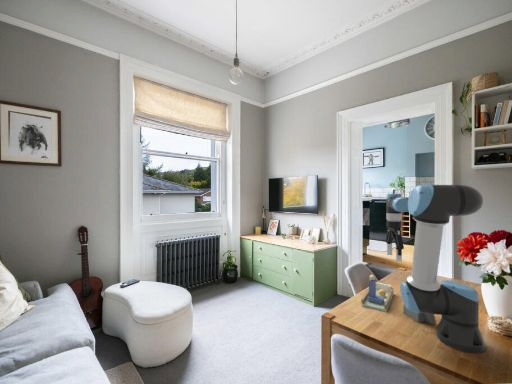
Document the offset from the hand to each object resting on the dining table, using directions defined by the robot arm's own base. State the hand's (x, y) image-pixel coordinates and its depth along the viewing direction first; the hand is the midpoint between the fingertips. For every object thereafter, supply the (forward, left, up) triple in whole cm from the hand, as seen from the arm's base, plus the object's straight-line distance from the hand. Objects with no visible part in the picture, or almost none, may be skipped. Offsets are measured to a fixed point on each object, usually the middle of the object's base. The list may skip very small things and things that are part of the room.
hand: (394, 258), depth 142 cm
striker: (-12, +7, -22) cm, 26 cm away
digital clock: (-17, -12, -24) cm, 31 cm away
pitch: (-6, +7, -23) cm, 25 cm away
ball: (-3, +6, -20) cm, 21 cm away
